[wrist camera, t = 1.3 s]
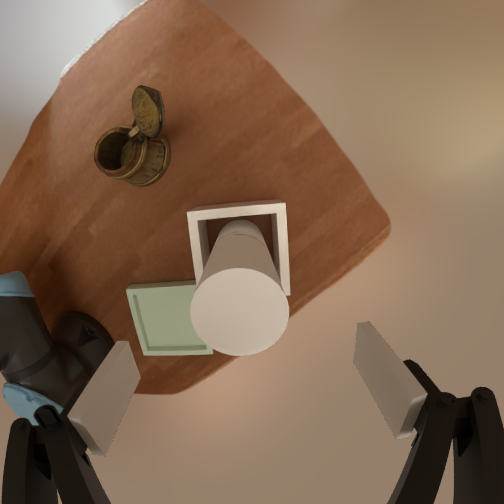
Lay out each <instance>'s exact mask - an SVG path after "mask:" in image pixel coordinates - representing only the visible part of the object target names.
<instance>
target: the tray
mask: <svg viewBox="0 0 504 504" xmlns="http://www.w3.org/2000/svg"><path fill="white" fill-rule="evenodd" d="M196 288H197V284H196V280H184V281H171V282H157V283H142V284H131V285H130V286H129V287H128V288H127V289H126V292H127V297H128V301H129V305H130V309H131V313H132V317H133V320H134V324H135V328H136V331H137V335H138V338H139V342H140V345H141V348H142V351H143V355H204V354H213V353H214V349H213V348H211V347H210V346H208V345H207V344H206V343H204V342H203V341H202V339H201V338H200V337H199V336H198V335H197V333H196V331H195V329H194V328H193V325H192V321H191V316H190V307H191V302H192V299H193V295H194V293H195V290H196Z"/></svg>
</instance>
